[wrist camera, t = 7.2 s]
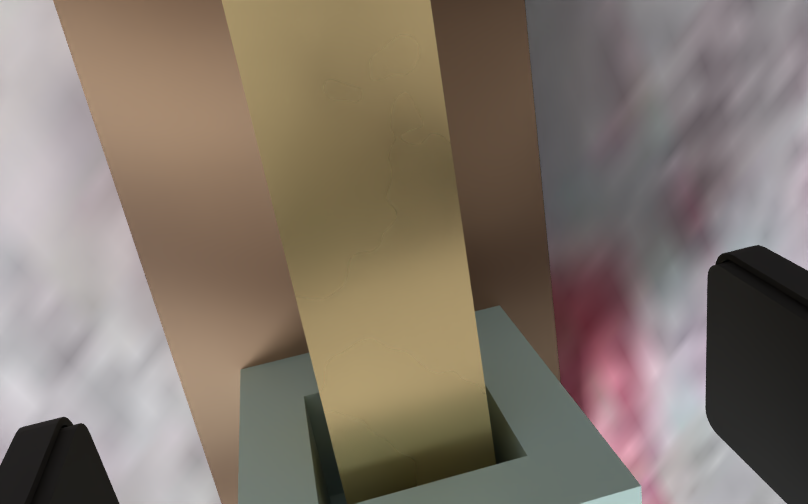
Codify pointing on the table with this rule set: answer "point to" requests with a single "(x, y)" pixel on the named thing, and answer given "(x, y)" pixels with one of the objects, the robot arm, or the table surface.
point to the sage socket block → (451, 497)
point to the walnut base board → (249, 195)
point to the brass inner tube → (370, 231)
